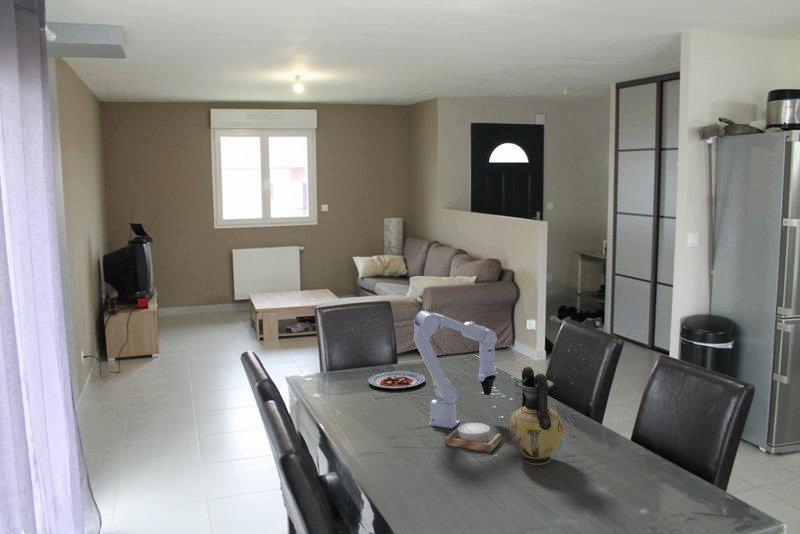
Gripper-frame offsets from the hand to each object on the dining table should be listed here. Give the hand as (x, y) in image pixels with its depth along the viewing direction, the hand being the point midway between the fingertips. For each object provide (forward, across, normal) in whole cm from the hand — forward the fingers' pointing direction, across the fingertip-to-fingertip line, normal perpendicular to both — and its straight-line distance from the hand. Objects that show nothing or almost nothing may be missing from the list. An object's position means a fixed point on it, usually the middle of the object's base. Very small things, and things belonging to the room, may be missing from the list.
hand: (487, 394), depth 265 cm
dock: (+9, -25, -4) cm, 27 cm away
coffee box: (+10, -2, -15) cm, 18 cm away
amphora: (+10, -31, -28) cm, 43 cm away
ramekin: (+10, -25, -4) cm, 27 cm away
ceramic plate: (+10, +28, +54) cm, 62 cm away
